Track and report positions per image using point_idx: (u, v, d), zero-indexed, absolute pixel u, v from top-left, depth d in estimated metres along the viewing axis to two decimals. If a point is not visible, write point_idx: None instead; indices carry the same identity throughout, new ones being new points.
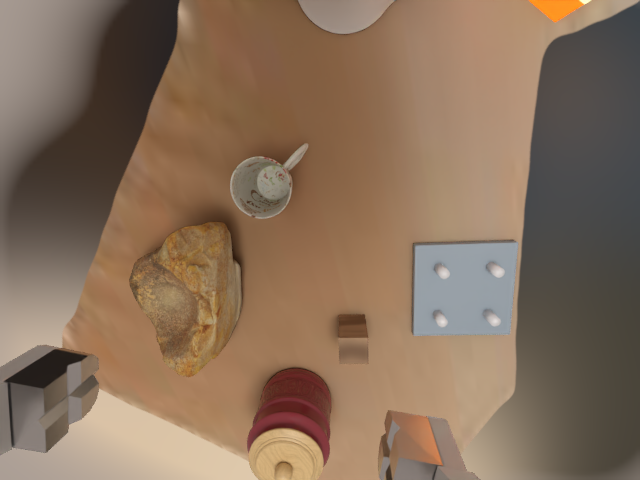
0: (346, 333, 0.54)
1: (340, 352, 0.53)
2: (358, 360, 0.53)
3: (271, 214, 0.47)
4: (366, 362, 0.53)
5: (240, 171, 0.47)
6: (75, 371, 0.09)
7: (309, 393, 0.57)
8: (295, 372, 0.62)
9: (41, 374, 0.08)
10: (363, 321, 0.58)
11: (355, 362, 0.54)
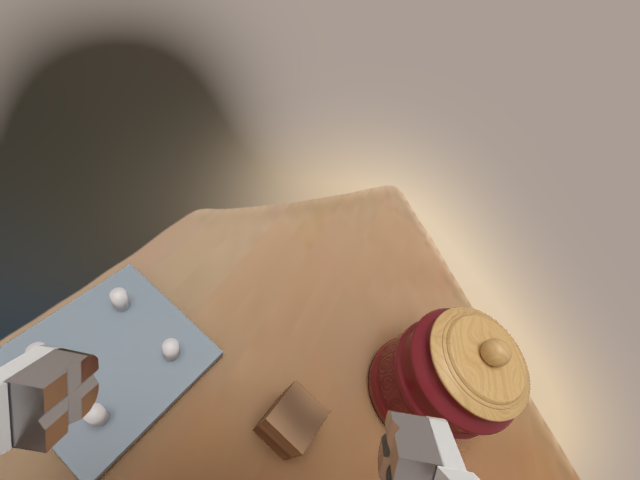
0: (288, 446, 0.32)
1: (316, 428, 0.32)
2: (304, 395, 0.34)
3: None
4: (296, 384, 0.34)
5: None
6: (75, 371, 0.09)
7: (395, 397, 0.38)
8: None
9: (41, 374, 0.08)
10: (259, 429, 0.35)
11: (309, 396, 0.34)
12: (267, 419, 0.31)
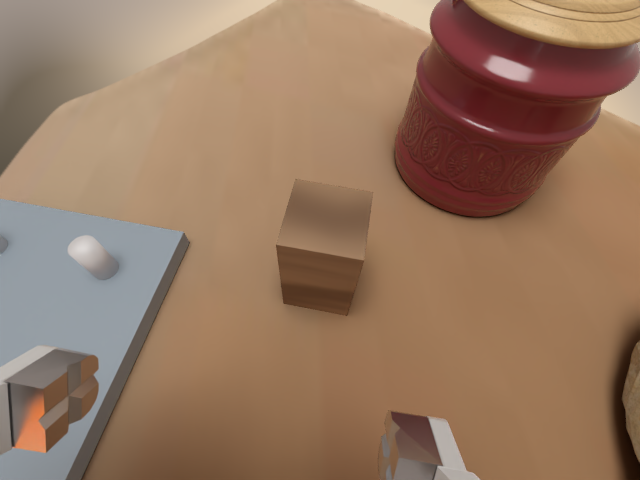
0: (338, 270, 0.18)
1: (365, 220, 0.18)
2: (320, 191, 0.19)
3: None
4: (299, 183, 0.20)
5: None
6: (75, 371, 0.09)
7: (451, 149, 0.24)
8: (468, 205, 0.27)
9: (41, 374, 0.08)
10: (286, 289, 0.22)
11: (329, 188, 0.19)
12: (279, 244, 0.17)
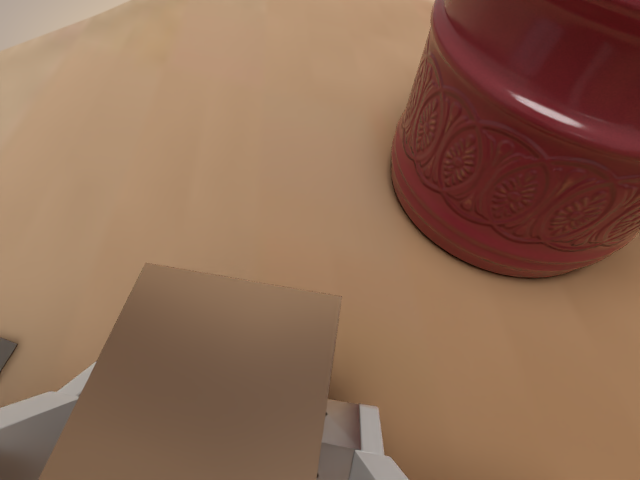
0: None
1: (317, 393, 0.07)
2: (202, 299, 0.07)
3: None
4: (153, 274, 0.08)
5: None
6: None
7: (502, 170, 0.12)
8: (522, 263, 0.15)
9: None
10: None
11: (228, 288, 0.08)
12: None
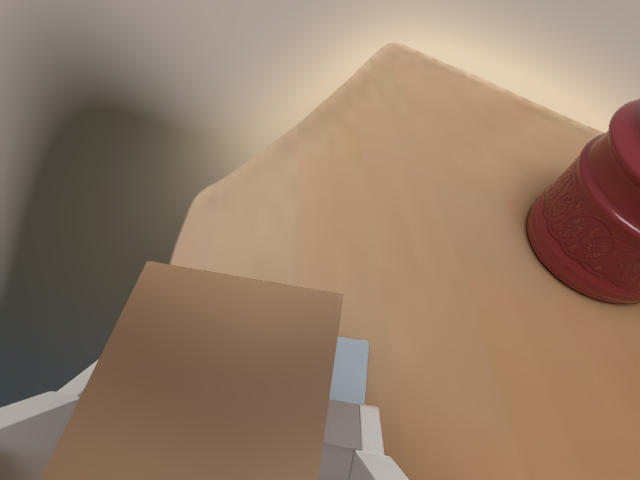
0: None
1: (319, 390, 0.07)
2: (204, 297, 0.07)
3: None
4: (155, 272, 0.08)
5: None
6: None
7: (624, 257, 0.26)
8: (623, 297, 0.29)
9: None
10: None
11: (229, 286, 0.08)
12: None
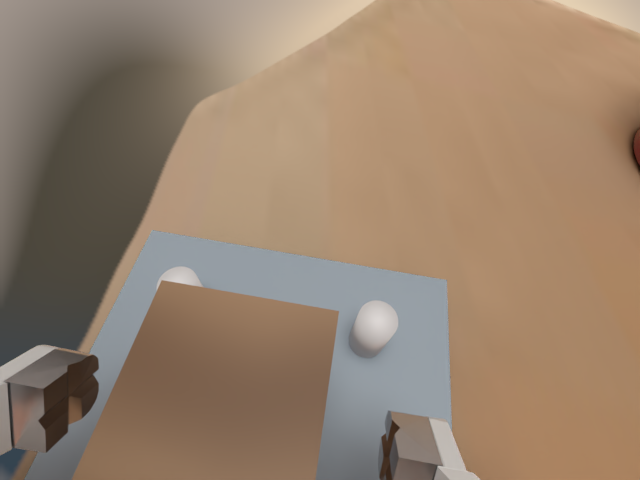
0: None
1: (317, 398, 0.07)
2: (213, 313, 0.08)
3: None
4: (169, 291, 0.08)
5: None
6: (75, 371, 0.09)
7: None
8: None
9: (41, 374, 0.08)
10: None
11: (236, 303, 0.08)
12: None
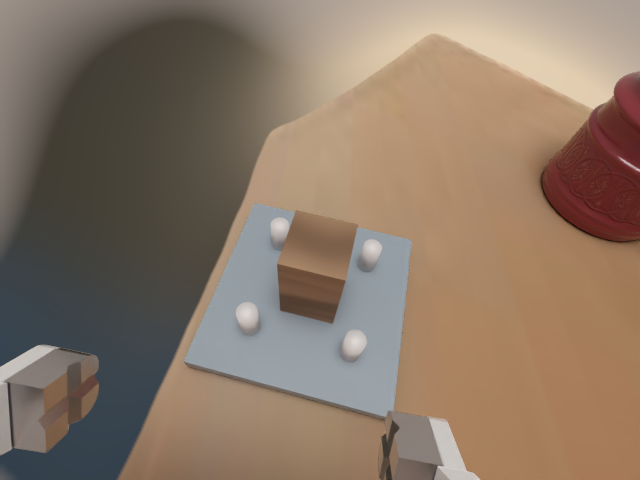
0: (325, 286, 0.23)
1: (349, 247, 0.23)
2: (315, 221, 0.24)
3: None
4: (299, 213, 0.24)
5: None
6: (75, 371, 0.09)
7: (619, 191, 0.33)
8: (617, 232, 0.36)
9: (41, 374, 0.08)
10: (283, 298, 0.26)
11: (322, 219, 0.24)
12: (280, 263, 0.22)
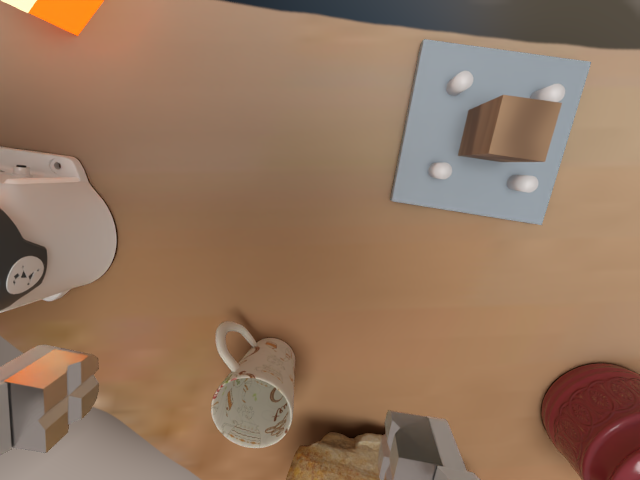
0: (484, 139, 0.29)
1: (520, 155, 0.28)
2: (548, 122, 0.27)
3: None
4: (557, 106, 0.27)
5: (230, 423, 0.37)
6: (75, 371, 0.09)
7: (591, 412, 0.36)
8: (549, 406, 0.41)
9: (41, 374, 0.08)
10: (477, 109, 0.32)
11: (550, 129, 0.27)
12: (503, 97, 0.27)
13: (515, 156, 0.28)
